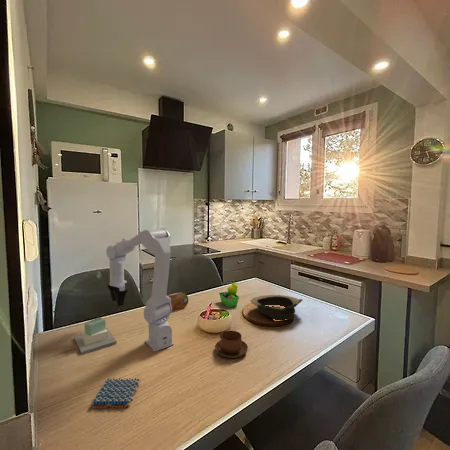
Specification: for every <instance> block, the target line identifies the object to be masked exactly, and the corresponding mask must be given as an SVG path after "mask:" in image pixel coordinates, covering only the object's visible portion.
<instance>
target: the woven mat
mask: <svg viewBox="0 0 450 450" xmlns="http://www.w3.org/2000/svg"><path fill="white" fill-rule="evenodd" d="M138 387H140V379H139V378H132V379H131V378H116V379H115V378H111V379H110V378H107V380H105V381H104V384H103V385H102V386H101V389H100V390H99V392H98V393H97V395H96V397H95V398H94V399H93V401H92V404H91V405H90V407H91V408H92V409H93V408H95V409H97V408H98V409H99V408H101V409H103V408H130V407H131V405H132V401H133V400H134V399H135V398H134V396H135V395H137V391H138Z"/></svg>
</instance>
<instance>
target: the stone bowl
mask: <svg viewBox="0 0 450 450" xmlns="http://www.w3.org/2000/svg"><path fill="white" fill-rule="evenodd" d="M302 302H303V298H299V299H298V298H297V297H293V296H290V295H283V294H269V295H259V296H256V297H252V298H251V300H250V303H251V304H253V305H254V306H255V307H257V310H258V311H259V312H260V313H263V314H264V315H266V316H268V317H271V319H272V318H273V319H275V320H285V319H290V318H291V319H293V317H294V315H295V313H296V307H297V306H298V305H299V304H300V303H302ZM265 305H280V306H284V307H285V308H280V307H274V306H272V307H269V306H265ZM291 319H290V320H291Z"/></svg>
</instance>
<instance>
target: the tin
mask: <svg viewBox="0 0 450 450" xmlns="http://www.w3.org/2000/svg"><path fill="white" fill-rule="evenodd" d="M167 296H168V297H169V298H170V299H171V305H172V312H176V311H180V310H184V309H185V308H186V307H187V305H188V304H189V297H188V295H187V294H186V293H184V292H176V293H172V294H167ZM172 312H171V313H172Z"/></svg>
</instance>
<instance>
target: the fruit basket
mask: <svg viewBox="0 0 450 450" xmlns="http://www.w3.org/2000/svg"><path fill="white" fill-rule="evenodd" d="M238 288H239V287H238V284H237V283H236V282H232V283H231V284H230V285H228V287H227V291H226V290H225V291H222V292H218V295H219V297H220V301H221V303H222V304H223V305H224V306H226V307H227V308H231V307H237V306H238V302H239V299H240V296H239V295H237V293H238Z"/></svg>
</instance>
